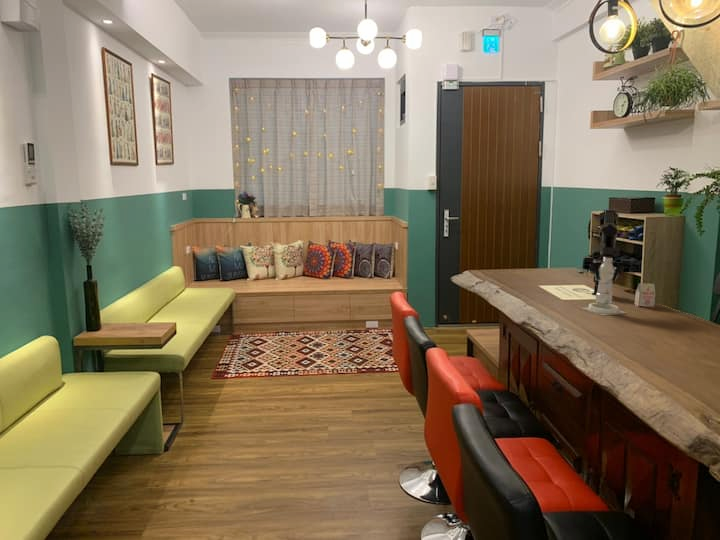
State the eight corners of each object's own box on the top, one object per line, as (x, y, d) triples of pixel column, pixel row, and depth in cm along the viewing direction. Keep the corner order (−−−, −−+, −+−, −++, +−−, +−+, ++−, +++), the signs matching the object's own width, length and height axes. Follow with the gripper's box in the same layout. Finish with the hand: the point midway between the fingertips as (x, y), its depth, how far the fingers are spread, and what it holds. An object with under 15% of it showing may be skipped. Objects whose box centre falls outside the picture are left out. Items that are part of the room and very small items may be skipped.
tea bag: (634, 304, 254) (636, 282, 252) (649, 305, 254) (652, 283, 252) (638, 306, 250) (640, 284, 248) (653, 307, 250) (656, 284, 248)
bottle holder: (602, 306, 250) (602, 301, 250) (626, 313, 238) (627, 308, 238) (579, 308, 245) (579, 303, 245) (603, 315, 233) (603, 310, 233)
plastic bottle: (607, 302, 245) (612, 256, 241) (614, 306, 238) (619, 258, 234) (592, 302, 245) (597, 255, 241) (598, 306, 238) (603, 258, 235)
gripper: (585, 238, 243) (582, 268, 235) (633, 241, 237) (632, 272, 229) (583, 253, 252) (581, 283, 244) (630, 257, 245) (629, 287, 237)
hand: (605, 281), depth 238 cm, fingers closed on plastic bottle, 6 cm apart
